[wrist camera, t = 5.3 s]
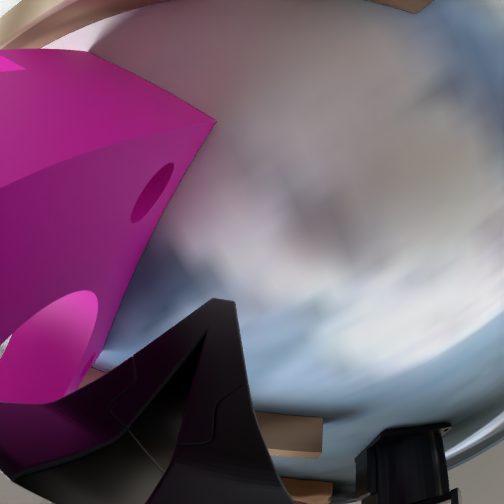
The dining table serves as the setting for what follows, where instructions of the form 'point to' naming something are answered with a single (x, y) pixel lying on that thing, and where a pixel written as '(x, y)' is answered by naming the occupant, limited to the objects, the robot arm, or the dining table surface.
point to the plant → (308, 491)
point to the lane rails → (95, 9)
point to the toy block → (77, 206)
